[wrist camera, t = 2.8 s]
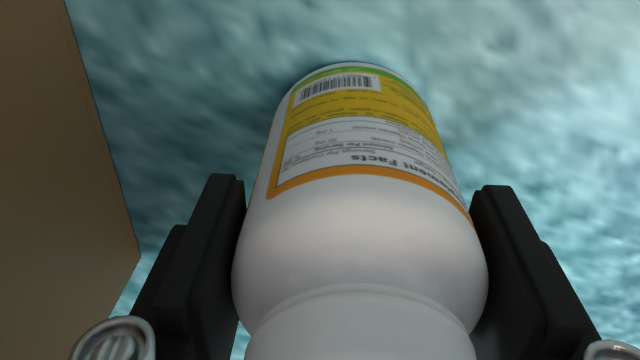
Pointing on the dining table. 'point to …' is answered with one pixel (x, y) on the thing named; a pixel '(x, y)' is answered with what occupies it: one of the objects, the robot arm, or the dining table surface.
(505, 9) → the dining table surface
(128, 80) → the dining table surface
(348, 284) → the supplement bottle
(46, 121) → the waste box
